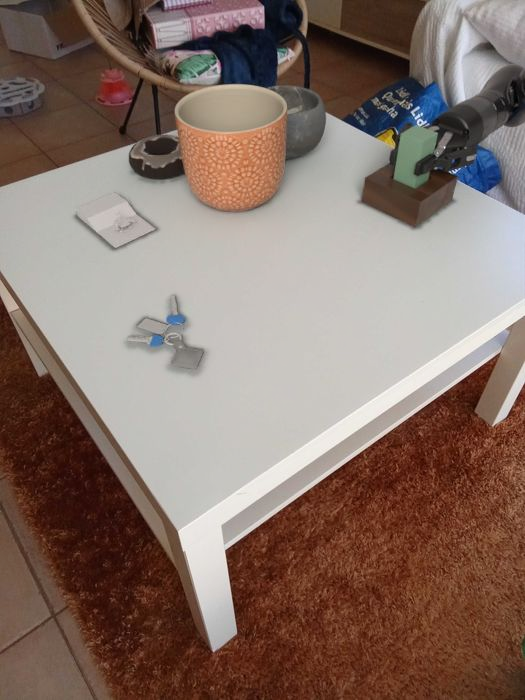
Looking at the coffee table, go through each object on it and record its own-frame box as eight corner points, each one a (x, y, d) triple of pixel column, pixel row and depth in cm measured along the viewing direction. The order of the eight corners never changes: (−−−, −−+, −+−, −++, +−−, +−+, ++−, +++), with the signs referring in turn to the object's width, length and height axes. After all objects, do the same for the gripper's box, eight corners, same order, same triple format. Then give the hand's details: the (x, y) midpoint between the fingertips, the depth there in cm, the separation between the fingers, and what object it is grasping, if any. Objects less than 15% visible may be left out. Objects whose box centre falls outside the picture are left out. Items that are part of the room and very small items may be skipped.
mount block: (399, 177, 99) (403, 153, 96) (452, 200, 94) (458, 175, 90) (361, 202, 94) (364, 177, 91) (415, 227, 89) (420, 202, 85)
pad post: (405, 182, 95) (415, 124, 87) (425, 191, 93) (438, 132, 85) (391, 192, 93) (400, 133, 85) (411, 201, 91) (423, 142, 83)
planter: (166, 209, 94) (152, 119, 82) (217, 162, 104) (210, 76, 93) (258, 234, 88) (255, 142, 77) (302, 182, 98) (305, 94, 87)
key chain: (210, 365, 69) (209, 361, 69) (145, 387, 67) (144, 383, 66) (175, 297, 78) (174, 292, 77) (116, 314, 76) (115, 310, 75)
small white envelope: (116, 198, 96) (113, 185, 94) (155, 229, 90) (153, 215, 88) (77, 215, 93) (73, 202, 91) (115, 248, 86) (111, 234, 85)
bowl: (238, 138, 110) (236, 85, 103) (313, 130, 112) (315, 78, 104) (251, 176, 100) (249, 121, 93) (332, 168, 102) (336, 113, 94)
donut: (145, 148, 108) (142, 128, 105) (203, 154, 106) (201, 134, 103) (120, 179, 100) (115, 158, 97) (182, 187, 98) (179, 165, 95)
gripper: (432, 92, 96) (370, 126, 88) (509, 117, 89) (449, 157, 81) (424, 134, 101) (364, 170, 93) (496, 161, 94) (438, 203, 86)
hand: (404, 164), depth 87 cm, fingers closed on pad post, 4 cm apart
